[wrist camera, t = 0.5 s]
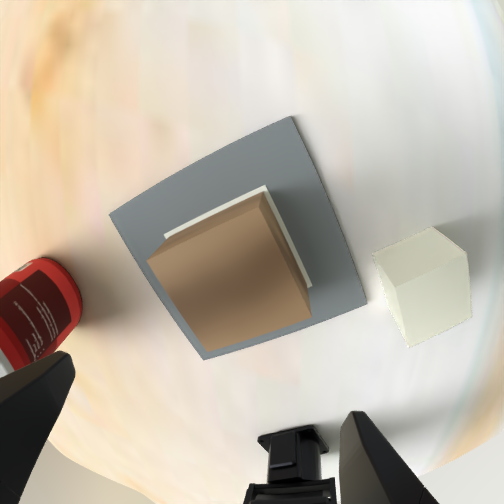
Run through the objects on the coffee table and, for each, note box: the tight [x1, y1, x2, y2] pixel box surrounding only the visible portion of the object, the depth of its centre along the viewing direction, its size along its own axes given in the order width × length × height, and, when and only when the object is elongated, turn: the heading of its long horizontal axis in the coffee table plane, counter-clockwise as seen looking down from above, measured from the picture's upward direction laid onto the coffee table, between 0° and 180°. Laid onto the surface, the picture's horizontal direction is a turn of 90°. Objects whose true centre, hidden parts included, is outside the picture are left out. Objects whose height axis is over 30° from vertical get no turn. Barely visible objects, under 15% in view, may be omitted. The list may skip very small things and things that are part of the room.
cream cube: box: [372, 227, 472, 348], centre depth 18 cm, size 5×5×5 cm
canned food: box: [0, 258, 82, 378], centre depth 19 cm, size 8×8×11 cm
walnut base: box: [146, 191, 312, 352], centre depth 18 cm, size 7×7×4 cm
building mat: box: [109, 116, 367, 360], centre depth 20 cm, size 14×14×1 cm
